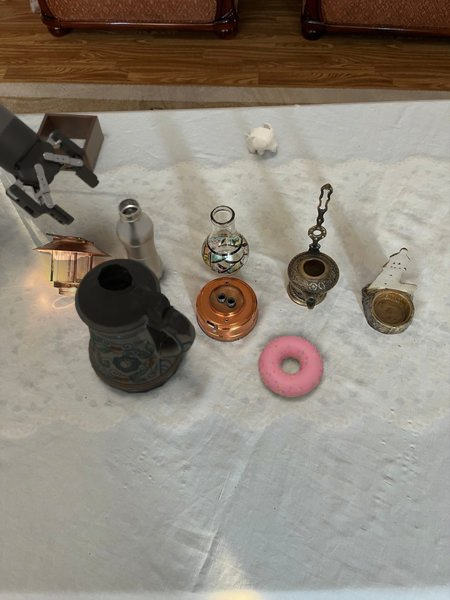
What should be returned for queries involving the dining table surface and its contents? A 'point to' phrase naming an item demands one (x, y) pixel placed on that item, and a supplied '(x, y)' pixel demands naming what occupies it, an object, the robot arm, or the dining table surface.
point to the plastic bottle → (138, 235)
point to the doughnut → (293, 382)
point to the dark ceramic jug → (131, 326)
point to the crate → (75, 133)
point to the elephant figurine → (262, 139)
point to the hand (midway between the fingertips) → (84, 203)
